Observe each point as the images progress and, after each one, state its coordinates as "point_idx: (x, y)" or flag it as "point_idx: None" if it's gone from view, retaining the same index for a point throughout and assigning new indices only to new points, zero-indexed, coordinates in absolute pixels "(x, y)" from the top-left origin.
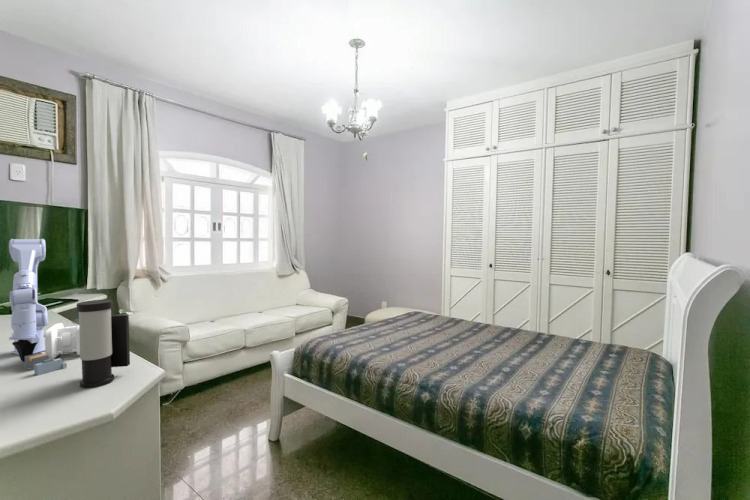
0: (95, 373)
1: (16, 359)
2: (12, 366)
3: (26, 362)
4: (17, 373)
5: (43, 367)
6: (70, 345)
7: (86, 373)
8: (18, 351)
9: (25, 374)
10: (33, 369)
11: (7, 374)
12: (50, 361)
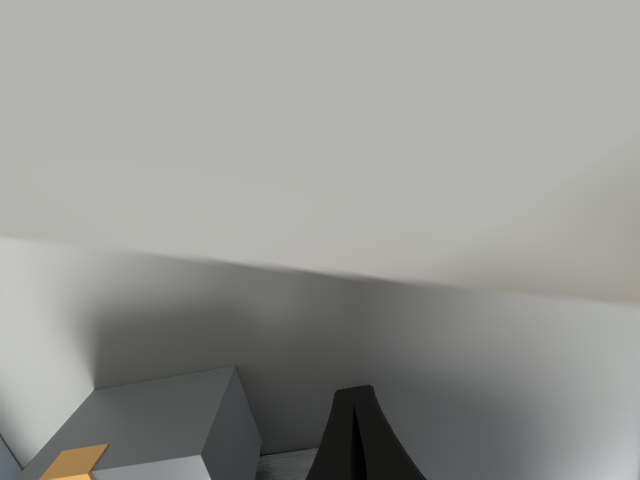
0: None
1: (593, 362)
2: (360, 312)
3: (186, 407)
4: (82, 307)
5: None
6: None
7: None
8: (383, 467)
9: (5, 338)
10: (96, 392)
11: (109, 255)
12: None
